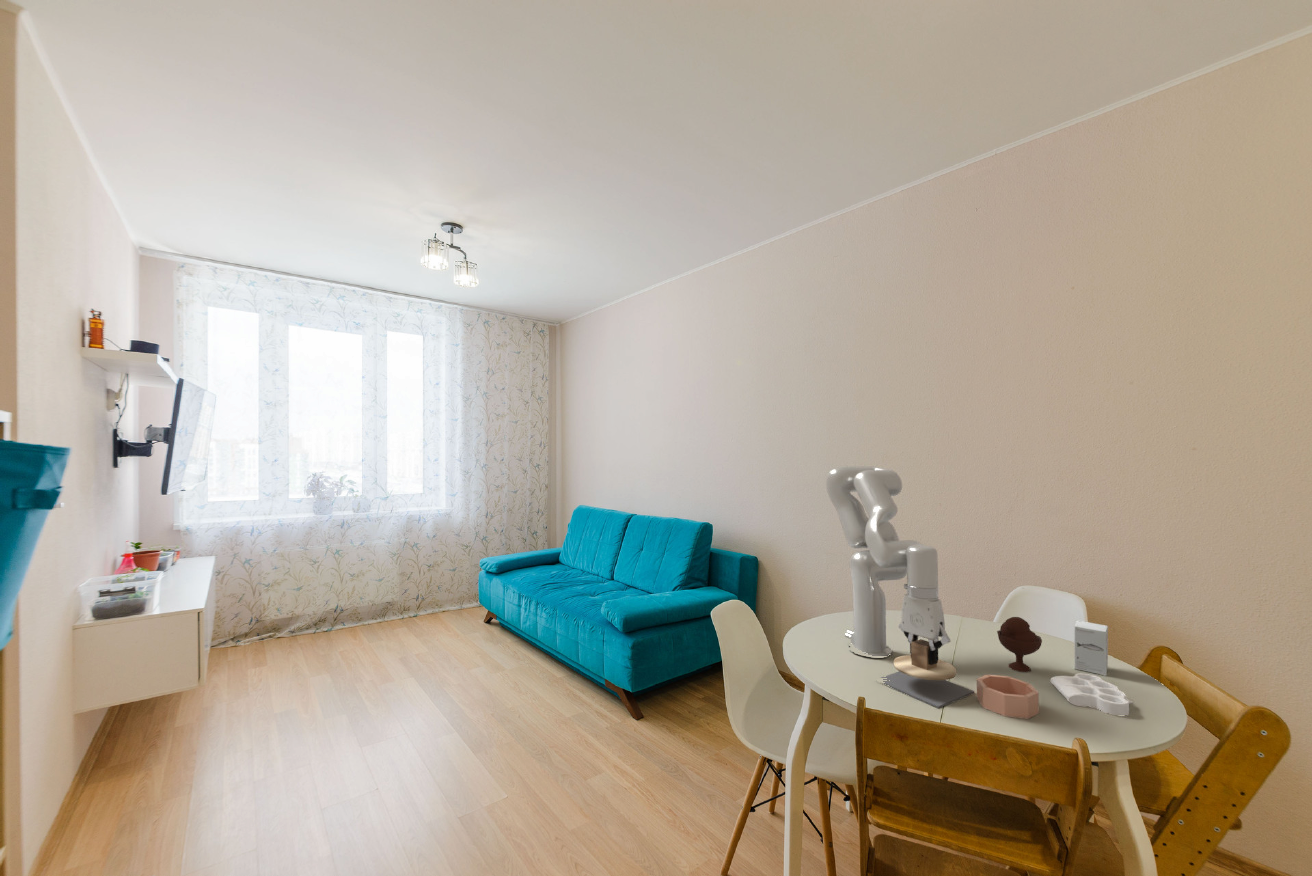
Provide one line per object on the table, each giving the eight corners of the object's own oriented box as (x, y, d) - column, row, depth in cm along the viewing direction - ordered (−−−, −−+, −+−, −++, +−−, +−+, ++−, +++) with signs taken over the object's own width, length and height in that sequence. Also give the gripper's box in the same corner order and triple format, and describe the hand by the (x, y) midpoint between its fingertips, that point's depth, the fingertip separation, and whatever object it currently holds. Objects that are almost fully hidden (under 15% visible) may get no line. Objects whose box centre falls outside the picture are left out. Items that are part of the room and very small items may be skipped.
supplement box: (1073, 669, 156) (1073, 625, 156) (1076, 661, 161) (1075, 619, 162) (1107, 676, 151) (1106, 631, 151) (1108, 668, 156) (1108, 624, 156)
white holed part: (1046, 681, 149) (1110, 688, 145) (1074, 712, 132) (1148, 721, 127) (1046, 669, 149) (1110, 675, 145) (1074, 698, 132) (1147, 707, 127)
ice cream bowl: (1050, 677, 151) (1049, 623, 151) (1006, 674, 153) (1005, 621, 153) (1032, 662, 161) (1031, 611, 161) (990, 659, 163) (990, 609, 163)
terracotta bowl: (969, 701, 137) (968, 681, 137) (994, 690, 143) (994, 671, 143) (1020, 722, 126) (1020, 701, 126) (1046, 709, 132) (1045, 689, 133)
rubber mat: (875, 681, 149) (875, 679, 149) (911, 668, 157) (911, 667, 157) (938, 708, 133) (938, 706, 133) (974, 693, 141) (974, 691, 142)
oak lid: (881, 665, 148) (881, 639, 148) (915, 654, 155) (915, 630, 155) (934, 685, 135) (933, 657, 135) (968, 672, 142) (967, 646, 142)
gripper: (886, 587, 151) (887, 653, 150) (944, 601, 136) (946, 674, 136) (903, 583, 155) (904, 648, 154) (961, 597, 140) (963, 668, 140)
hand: (924, 659), depth 145 cm, fingers closed on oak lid, 4 cm apart
